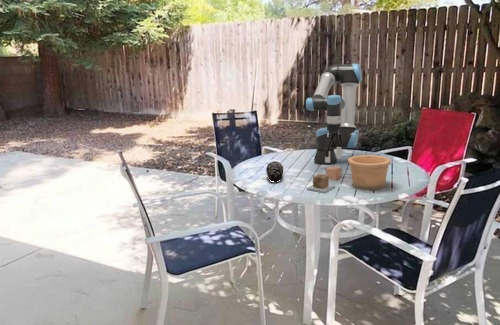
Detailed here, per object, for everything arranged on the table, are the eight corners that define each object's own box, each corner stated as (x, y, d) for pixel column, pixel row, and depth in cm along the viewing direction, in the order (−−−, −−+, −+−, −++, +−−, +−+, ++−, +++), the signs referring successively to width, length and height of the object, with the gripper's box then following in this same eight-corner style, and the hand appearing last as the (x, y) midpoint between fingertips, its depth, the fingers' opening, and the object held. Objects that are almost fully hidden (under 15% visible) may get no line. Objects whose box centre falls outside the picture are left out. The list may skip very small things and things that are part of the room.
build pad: (306, 189, 217) (306, 187, 217) (316, 184, 225) (316, 182, 225) (325, 193, 210) (325, 191, 210) (335, 187, 218) (335, 185, 218)
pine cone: (268, 184, 230) (268, 167, 228) (265, 175, 247) (264, 159, 245) (287, 183, 231) (286, 166, 228) (282, 174, 248) (282, 158, 246)
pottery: (365, 194, 206) (366, 166, 203) (339, 183, 226) (339, 158, 222) (398, 187, 214) (400, 160, 211) (371, 177, 234) (371, 153, 230)
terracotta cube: (326, 178, 236) (326, 168, 235) (331, 176, 241) (331, 166, 239) (335, 180, 233) (335, 169, 231) (340, 177, 237) (340, 167, 236)
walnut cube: (313, 187, 217) (312, 176, 215) (318, 184, 221) (318, 173, 220) (323, 189, 213) (323, 178, 212) (328, 186, 218) (328, 175, 216)
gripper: (329, 126, 217) (328, 165, 222) (349, 120, 236) (349, 156, 241) (316, 125, 222) (316, 163, 227) (337, 120, 241) (337, 155, 245)
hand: (333, 160), depth 234 cm, fingers open, 13 cm apart
